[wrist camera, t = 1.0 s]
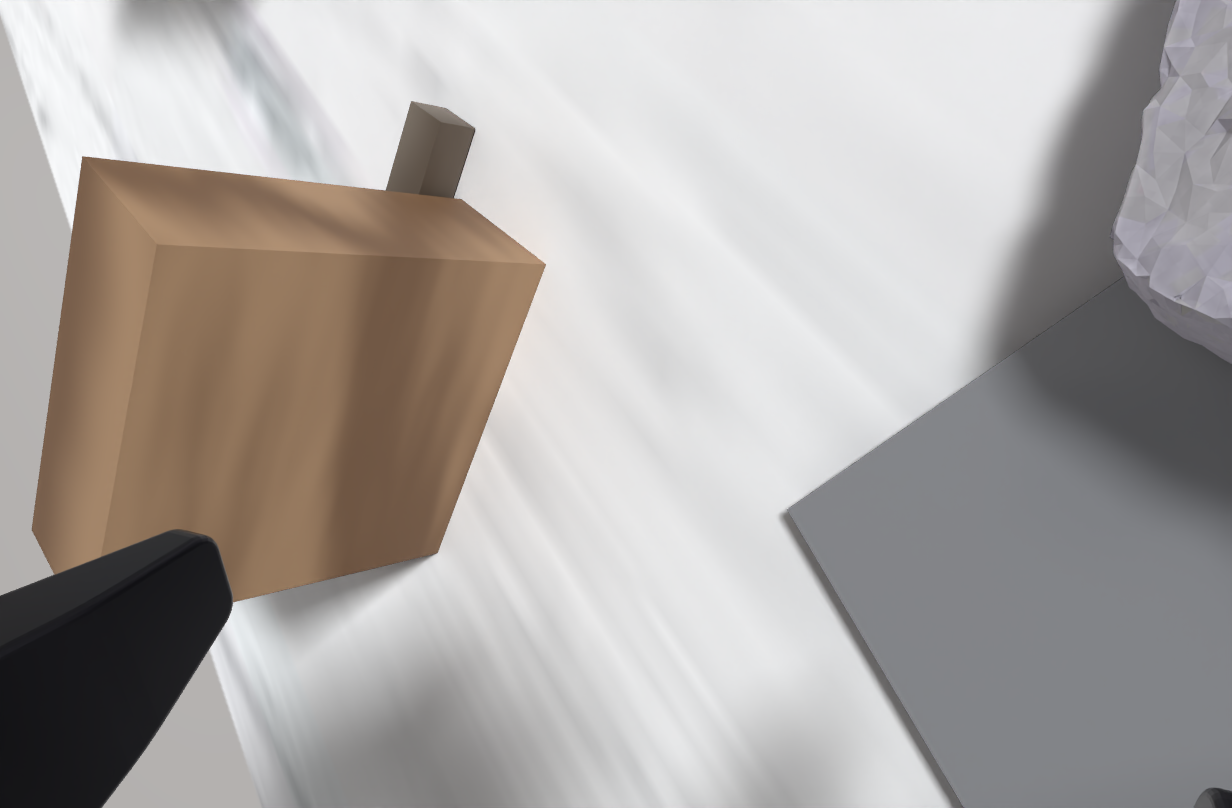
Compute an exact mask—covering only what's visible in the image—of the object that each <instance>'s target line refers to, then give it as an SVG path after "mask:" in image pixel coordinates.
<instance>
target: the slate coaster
mask: <svg viewBox="0 0 1232 808" xmlns="http://www.w3.org/2000/svg"><path fill="white" fill-rule="evenodd" d="M787 511H788V512H789V514H790V516H791V517H792V519H793V521H794V522H795V524H796V526H797V527H798V529H799V531H800V533H801V534H802V536H803V538H804V539H805V541H806V543H807V544H808V546H809V548H810V549H811V551H812V553H813V554H814V556H815V558H816V560H817V561H818V563H819V565H820V566H821V568H822V570H823V571H824V573H825V575H826V576H827V578H828V580H829V581H830V583H831V585H832V587H833V588H834V590H835V592H836V593H837V595H838V597H839V598H840V600H841V602H842V603H843V605H844V607H845V608H846V610H847V612H848V614H849V615H850V617H851V619H852V620H853V622H854V624H855V625H856V627H857V629H858V630H859V632H860V634H861V635H862V637H863V639H864V641H865V642H866V644H867V646H868V647H869V649H870V651H871V652H872V654H873V656H874V657H875V659H876V661H877V662H878V664H879V666H880V668H881V669H882V671H883V673H884V674H885V676H886V678H887V679H888V681H889V683H890V684H891V686H892V688H893V690H894V691H895V693H896V695H897V696H898V698H899V700H900V701H901V703H902V705H903V706H904V708H905V710H906V711H907V713H908V715H909V717H910V718H911V720H912V722H913V723H914V725H915V727H916V728H917V730H918V732H919V733H920V735H921V737H922V738H923V740H924V742H925V744H926V745H927V747H928V749H929V750H930V752H931V754H932V755H933V757H934V759H935V760H936V762H937V764H938V765H939V767H940V769H941V771H942V772H943V774H944V776H945V777H946V779H947V781H948V782H949V784H950V786H951V787H952V789H953V791H954V792H955V794H956V796H957V798H958V799H959V801H960V803H961V804H962V806H963V808H1194V806H1195V803H1196V801H1197V799H1198V798H1199V796H1200V795H1201V793H1202V792H1203V791H1205V790H1206V789H1208V788H1211V787H1212V788H1221V789H1225V790H1229V791H1232V364H1230V363H1229V362H1227V361H1225V360H1224V359H1222V358H1220V357H1219V356H1217V355H1216V354H1214V353H1213V352H1211V351H1210V350H1208V349H1207V348H1205V347H1204V346H1203V345H1200V344H1197V343H1195V342H1192V341H1189V340H1187V339H1184V338H1183V337H1181V336H1180V335H1178V334H1177V333H1175V332H1174V331H1173V330H1171V329H1170V328H1168V327H1167V326H1166V325H1164V324H1163V323H1162V322H1160V321H1159V320H1157V319H1156V318H1155V317H1154V315H1153V314H1152V312H1151V310H1150V308H1149V306H1148V305H1147V304H1146V303H1145V302H1144V301H1143V300H1142V299H1141V298H1140V297H1139V296H1138V294H1137V293H1136V292H1135V291H1133V290H1132V289H1130V288H1129V286H1128V283H1127V281H1126V278H1125V276H1124V277H1122V278H1121V279H1120V280H1118V281H1117V282H1115V283H1114V284H1112V285H1111V286H1109V287H1108V288H1107V289H1105V290H1104V291H1102V292H1101V293H1099V294H1098V295H1096V296H1095V297H1094V298H1092V299H1091V300H1089V301H1088V302H1086V303H1085V304H1083V305H1082V306H1081V307H1079V308H1078V309H1076V310H1075V311H1073V312H1072V313H1070V314H1069V315H1068V316H1066V317H1065V318H1063V319H1062V320H1060V321H1059V322H1057V323H1056V324H1055V325H1053V326H1052V327H1050V328H1049V329H1047V330H1046V331H1044V332H1043V333H1042V334H1040V335H1039V336H1037V337H1036V338H1034V339H1033V340H1031V341H1030V342H1029V343H1027V344H1026V345H1024V346H1023V347H1021V348H1020V349H1018V350H1017V351H1016V352H1014V353H1013V354H1011V355H1010V356H1008V357H1007V358H1005V359H1004V360H1003V361H1001V362H1000V363H998V364H997V365H995V366H994V367H992V368H991V369H990V370H988V371H987V372H985V373H984V374H982V375H981V376H979V377H978V378H977V379H975V380H974V381H972V382H971V383H969V384H968V385H966V386H965V387H964V388H962V389H961V390H959V391H958V392H956V393H955V394H953V395H952V396H951V397H949V398H948V399H946V400H945V401H943V402H942V403H940V404H939V405H937V406H936V407H935V408H933V409H932V410H930V411H929V412H927V413H926V414H924V415H923V416H922V417H920V418H919V419H917V420H916V421H914V422H913V423H911V424H910V425H909V426H907V427H906V428H904V429H903V430H901V431H900V432H898V433H897V434H896V435H894V436H893V437H891V438H890V439H888V440H887V441H885V442H884V443H883V444H881V445H880V446H878V447H877V448H875V449H874V450H872V451H871V452H870V453H868V454H867V455H865V456H864V457H862V458H861V459H859V460H858V461H857V462H855V463H854V464H852V465H851V466H849V467H848V468H846V469H845V470H844V471H842V472H841V473H839V474H838V475H836V476H835V477H833V478H832V479H831V480H829V481H828V482H826V483H825V484H823V485H822V486H820V487H819V488H818V489H816V490H815V491H813V492H812V493H810V494H809V495H807V496H806V497H805V498H803V499H802V500H800V501H799V502H797V503H796V504H794V505H793V506H792V507H790V508H789V509H787Z"/></svg>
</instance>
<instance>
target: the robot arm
mask: <svg viewBox="0 0 1232 808" xmlns="http://www.w3.org/2000/svg"><path fill="white" fill-rule="evenodd" d="M232 606H233V593H232V590H231V586H230V583H229V580H228V576H227V573H226V570H225V567H224V563H223V560H222V557H221V553H220V550H219V547H218V545H217V543H216V542H215V541H214V540H213V539H212V538H211V537H209V536H207V535H203V534H199V533H195V532H191V531H187V530H183V529H174V530H169V531H166V532H164V533H161V534H159V535H156V536H153V537H151V538H148V539H146V540H143V541H140V542H138V543H135V544H133V545H130V546H128V547H125V548H122V549H120V550H117V551H115V552H112V553H109V554H107V555H104V556H102V557H99V558H96V559H94V560H91V561H89V562H86V563H84V564H81V565H78V566H76V567H73V568H71V569H68V570H65V571H63V572H60V573H58V574H55V575H53V576H50V577H47V578H45V579H42V580H40V581H37V582H35V583H32V584H30V585H27V586H24V587H21V588H19V589H16V590H14V591H11V592H9V593H6V594H4V595H1V596H0V808H102V807H103V805H104V804H105V803H106V802H107V800H108V799H109V797H110V796H111V795H112V794H113V792H114V791H115V790H116V788H117V787H118V786H119V784H120V783H121V782H122V781H123V779H124V778H125V776H126V775H127V774H128V773H129V771H130V770H131V769H132V767H133V766H134V765H135V763H136V762H137V760H138V759H139V758H140V756H141V755H142V754H143V752H144V751H145V749H146V748H147V746H148V745H149V744H150V742H151V741H152V739H153V738H154V736H155V735H156V733H157V731H158V730H159V728H160V727H161V725H162V724H163V722H164V721H165V719H166V717H167V716H168V714H169V713H170V711H171V709H172V707H173V706H174V705H175V703H176V701H177V700H178V698H179V697H180V695H181V694H182V692H183V690H184V689H185V687H186V685H187V684H188V682H189V681H190V679H191V678H192V676H193V674H194V673H195V671H196V670H197V668H198V666H199V665H200V663H201V661H202V660H203V658H204V657H205V655H206V654H207V652H208V651H209V649H210V647H211V646H212V644H213V643H214V641H215V639H216V638H217V636H218V635H219V633H220V631H221V630H222V628H223V627H224V625H225V623H226V622H227V620H228V618H229V616H230V613H231V611H232ZM1194 808H1232V791H1229V790H1225V789H1221V788H1212V787H1211V788H1208V789H1206V790H1205V791H1203V792H1202V793H1201V795H1200V796H1199V798H1198V799H1197V801H1196V803H1195V806H1194Z"/></svg>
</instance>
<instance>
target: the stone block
mask: <svg viewBox="0 0 1232 808" xmlns="http://www.w3.org/2000/svg"><path fill="white" fill-rule="evenodd" d="M1159 73H1160V85H1161V89H1160V90H1159V91H1158V92H1157V93H1156V94H1155V96H1154V97H1153V98H1152V99H1151V100H1150V102H1149V104H1148V106H1147V107H1146V108H1145V109H1144V110H1143V114H1142V118H1141V132H1142V141H1141V145H1140V149H1139V154H1138V158H1137V162H1136V165H1135V167H1134V168H1133V170H1132V172H1131V175H1130V178H1129V182H1128V185H1127V189H1126V192H1125V195H1124V198H1123V201H1122V204H1121V207H1120V209H1119V211H1118V214H1117V216H1116V218H1115V221H1114V223H1113V226H1112V230H1111V234H1110V238H1112V239H1113V240H1114V244H1113V247H1114V250H1113V255H1114V257H1115V259H1116V260H1117V262H1118V264H1119V266H1120V267H1121V269H1122V271H1123V274H1124V276H1125V278H1126V281H1127V283H1128V286H1129V288H1130V289H1132V290H1133V291H1135V292H1136V293H1137V294H1138V296H1139V297H1140V298H1141V299H1142V300H1143V301H1144V302H1145V303H1146V304H1147V305H1148V306H1149V308H1150V310H1151V312H1152V314H1153V315H1154V317H1155V318H1156V319H1157V320H1159V321H1160V322H1162V323H1163V324H1164V325H1166V326H1167V327H1168V328H1170V329H1171V330H1173V331H1174V332H1175V333H1177V334H1178V335H1180V336H1181V337H1183V338H1184V339H1187V340H1189V341H1192V342H1195V343H1197V344H1200V345H1203V346H1204V347H1205V348H1207V349H1208V350H1210V351H1211V352H1213V353H1214V354H1216V355H1217V356H1219V357H1220V358H1222V359H1224V360H1225V361H1227V362H1229V363H1230V364H1232V0H1176V2H1175V5H1174V8H1173V11H1172V14H1171V17H1170V20H1169V24H1168V28H1167V33H1166V38H1165V43H1164V48H1163V53H1162V58H1161V63H1160V68H1159Z"/></svg>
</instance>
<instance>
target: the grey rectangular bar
mask: <svg viewBox="0 0 1232 808" xmlns="http://www.w3.org/2000/svg"><path fill="white" fill-rule="evenodd" d="M474 131H475V128H474V127H472V126H471V125H469V124H468V123H467V122H465V121H464V120H462V119H461V118H459V117H458V116H456V115H455V114H453V113H452V112H451V111H449V110H448V109H446V108H442V107H437V106H432V105H428V104H423V103H418V102H413V101H411V104H410V107H409V111H408V114H407V118H406V121H405V125H404V128H403V132H402V135H401V139H400V142H399V146H398V149H397V153H396V156H395V160H394V163H393V167H392V170H391V174H390V177H389V181H388V184H387V188H386V191H393V192H401V193H410V194H419V195H428V196H437V197H446V198H453V197H454V194H455V190H456V187H457V184H458V181H459V178H460V175H461V172H462V169H463V165H464V162H465V159H466V156H467V153H468V150H469V147H470V143H471V140H472V137H473V134H474Z"/></svg>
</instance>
